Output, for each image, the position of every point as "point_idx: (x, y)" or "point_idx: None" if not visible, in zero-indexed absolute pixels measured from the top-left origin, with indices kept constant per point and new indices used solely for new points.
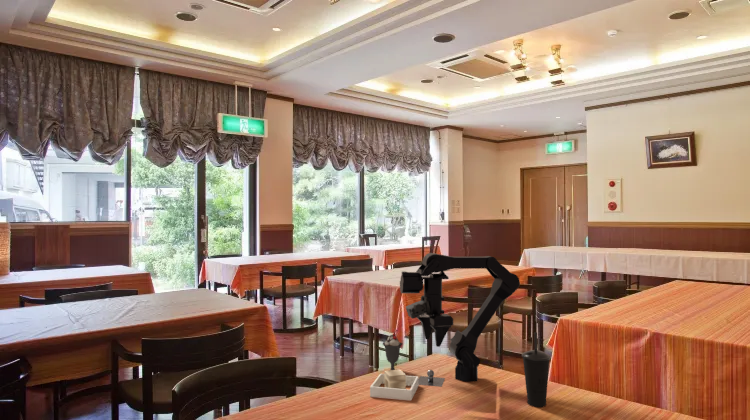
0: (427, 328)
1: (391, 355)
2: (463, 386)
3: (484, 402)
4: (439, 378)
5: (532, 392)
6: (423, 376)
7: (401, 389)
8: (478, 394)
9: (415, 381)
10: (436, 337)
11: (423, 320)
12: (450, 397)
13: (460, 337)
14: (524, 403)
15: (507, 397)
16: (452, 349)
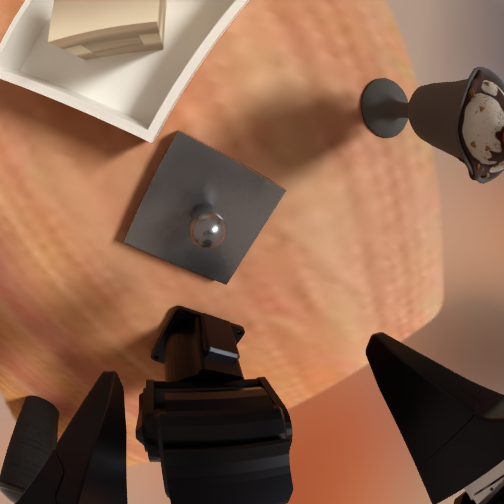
0: (420, 409)
1: (429, 94)
2: (160, 320)
3: (27, 326)
4: (226, 262)
5: (18, 420)
6: (275, 203)
7: (8, 30)
8: (84, 336)
9: (78, 107)
10: (59, 444)
11: (488, 440)
12: (56, 244)
13: (185, 496)
14: (39, 393)
15: (69, 383)
16: (218, 412)
